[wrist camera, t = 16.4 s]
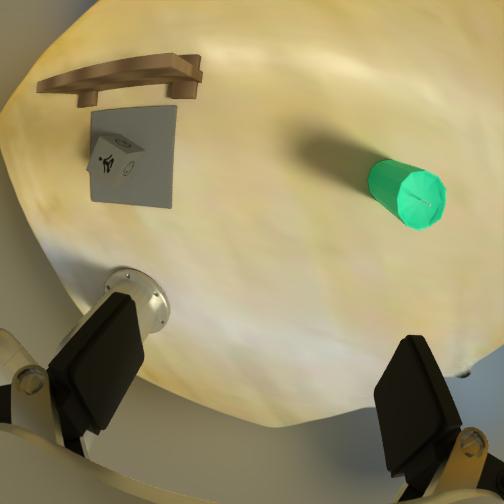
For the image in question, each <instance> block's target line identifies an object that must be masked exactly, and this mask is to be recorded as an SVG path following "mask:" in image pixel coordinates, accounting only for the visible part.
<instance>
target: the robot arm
mask: <svg viewBox="0 0 504 504" xmlns="http://www.w3.org/2000/svg"><path fill="white" fill-rule="evenodd" d="M104 294H105V295H104V296H103V297H102V298H101V299H100V300H99V301H98V302H97V303H96V304H95V305H94V306H93V307H92V308H91V309H90V310H89V311H88V312H87V314H86V315H85V316H84V317H83V318H82V319H81V320H80V321H79V322H78V323H77V324H76V325H75V326H74V327H73V328H72V330H71V331H70V332H69V333H68V334H67V335H66V336H65V337H64V338H63V340H62V341H61V342H60V343H59V345H58V347H57V349H56V351H55V355H54V359H53V360H52V361H51V362H50V363H49V365H48V366H49V368H48V369H47V370H45V369H44V368H42V367H41V366H40V365H39V364H38V362H37V361H36V360H35V359H34V358H33V357H32V356H31V355H30V354H29V353H28V351H27V350H26V349H25V348H24V347H23V346H22V344H21V343H20V342H19V341H18V340H17V339H16V338H15V337H14V335H13V334H11V333H10V332H9V331H7V330H6V329H3V328H0V504H222V503H216V502H211V501H206V500H202V499H198V498H193V497H189V496H185V495H181V494H178V493H174V492H170V491H167V490H164V489H161V488H157V487H154V486H151V485H148V484H146V483H143V482H140V481H137V480H134V479H132V478H129V477H126V476H124V475H122V474H119V473H117V472H115V471H112V470H110V469H108V468H105V467H103V466H101V465H99V464H96V463H94V462H92V461H90V459H89V456H88V451H89V450H90V447H91V444H92V441H93V438H94V435H95V434H96V435H99V433H100V431H101V430H105V429H106V428H107V426H108V424H109V422H110V420H111V418H112V417H113V415H114V413H115V411H116V410H117V408H118V406H119V404H120V402H121V400H122V398H123V397H124V395H125V393H126V392H127V390H128V388H129V386H130V384H131V382H132V381H133V379H134V377H135V376H136V374H137V372H138V370H139V369H140V367H141V365H142V363H143V361H144V350H143V345H142V344H143V342H144V341H145V339H146V337H147V336H148V334H151V333H156V332H158V331H160V330H161V329H162V328H163V327H164V326H165V325H166V323H167V321H168V319H169V315H170V307H169V303H168V300H167V298H166V296H165V294H164V292H163V291H162V289H161V288H160V287H159V286H158V284H157V283H156V282H155V281H153V280H152V279H151V278H150V277H148V276H147V275H145V274H143V273H141V272H139V271H136V270H132V269H123V270H119V271H116V272H115V273H113V274H112V275H111V276H110V277H109V278H108V280H107V282H106V284H105V288H104ZM374 400H375V405H376V409H377V414H378V419H379V424H380V430H381V435H382V441H383V447H384V453H385V459H386V466H387V469H388V471H390V472H391V477H392V478H395V477H401V476H405V479H406V482H405V483H404V485H403V487H402V488H401V490H400V491H399V493H398V494H397V496H396V497H395V499H394V500H393V502H392V503H391V504H504V462H502V461H501V460H499V459H497V458H496V457H494V456H492V455H491V454H489V453H488V440H487V438H486V436H485V435H484V433H483V432H482V431H480V430H479V429H477V428H474V427H467V428H464V429H463V430H462V431H461V429H460V426H461V425H462V421H461V419H460V416H459V413H458V411H457V408H456V406H455V403H454V401H453V398H452V396H451V394H450V391H449V389H448V387H447V384H446V382H445V380H444V377H443V375H442V373H441V371H440V369H439V367H438V364H437V362H436V360H435V358H434V356H433V354H432V352H431V350H430V348H429V346H428V344H427V342H426V340H425V338H424V337H423V336H422V335H407V336H406V337H405V339H402V340H401V341H400V343H399V345H398V347H397V349H396V351H395V353H394V355H393V357H392V359H391V361H390V362H389V364H388V366H387V368H386V370H385V371H384V373H383V375H382V377H381V378H380V380H379V382H378V384H377V385H376V387H375V389H374Z"/></svg>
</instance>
